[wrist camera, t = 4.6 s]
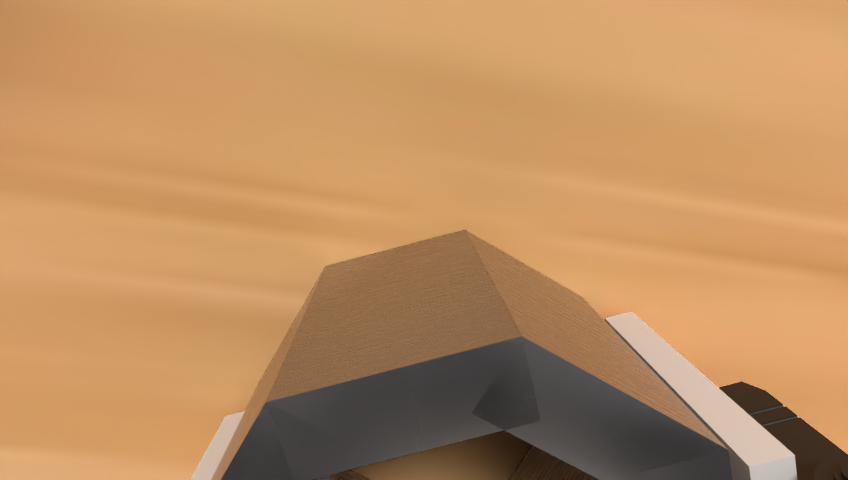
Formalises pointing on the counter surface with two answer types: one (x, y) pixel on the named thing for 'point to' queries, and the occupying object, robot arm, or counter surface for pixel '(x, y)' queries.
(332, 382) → the collar
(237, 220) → the counter surface
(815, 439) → the robot arm
